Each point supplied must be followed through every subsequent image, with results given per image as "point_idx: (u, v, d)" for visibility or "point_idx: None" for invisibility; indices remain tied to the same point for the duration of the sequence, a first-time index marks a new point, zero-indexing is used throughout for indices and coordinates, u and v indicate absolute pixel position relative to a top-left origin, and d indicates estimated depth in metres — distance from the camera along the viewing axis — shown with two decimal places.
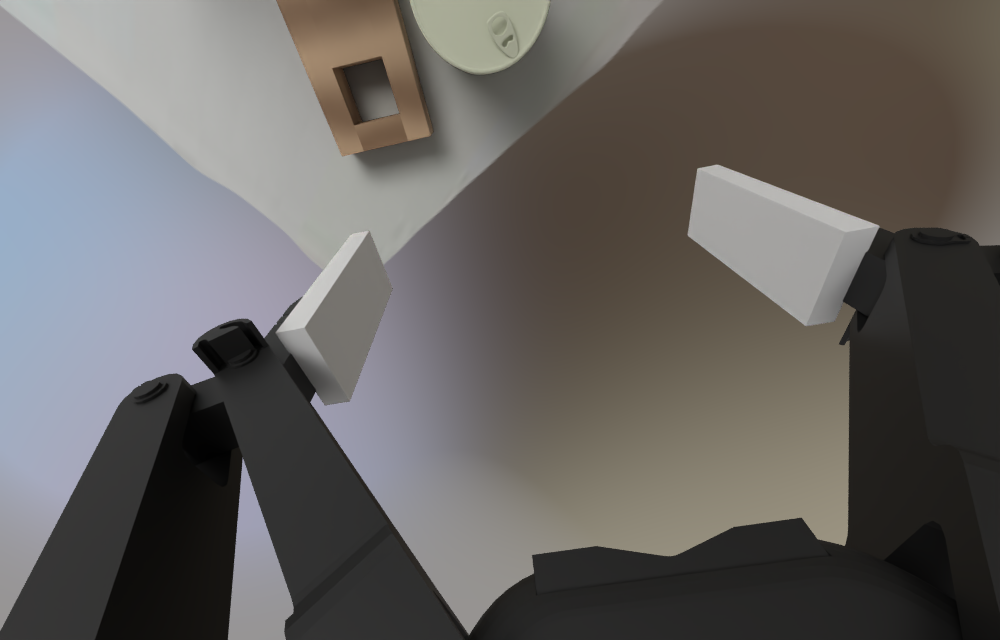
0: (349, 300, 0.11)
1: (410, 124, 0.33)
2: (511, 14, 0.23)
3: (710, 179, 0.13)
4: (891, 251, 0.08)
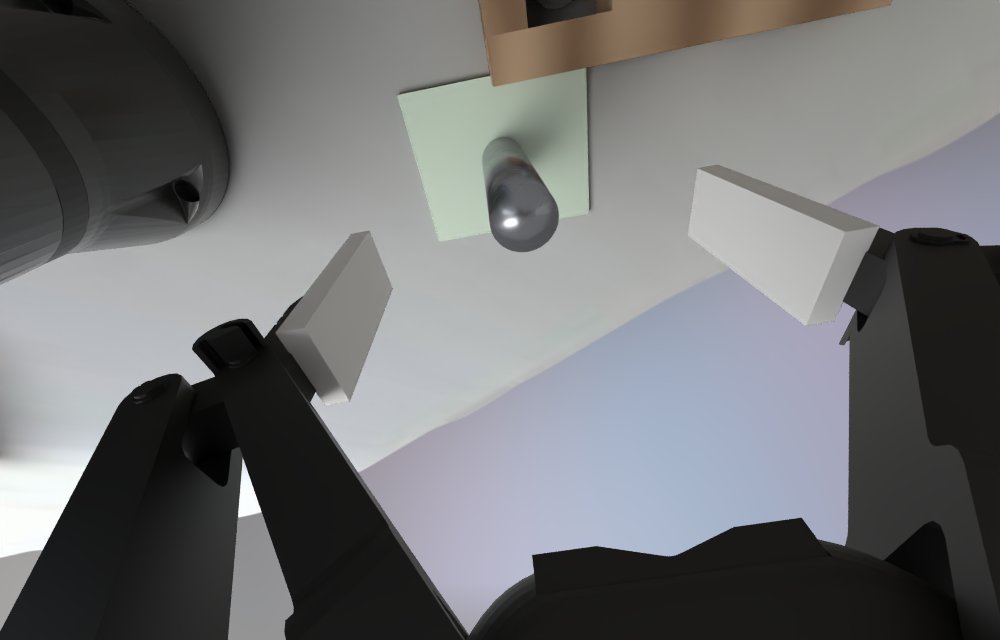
0: (349, 300, 0.11)
1: None
2: None
3: (710, 179, 0.13)
4: (891, 251, 0.08)
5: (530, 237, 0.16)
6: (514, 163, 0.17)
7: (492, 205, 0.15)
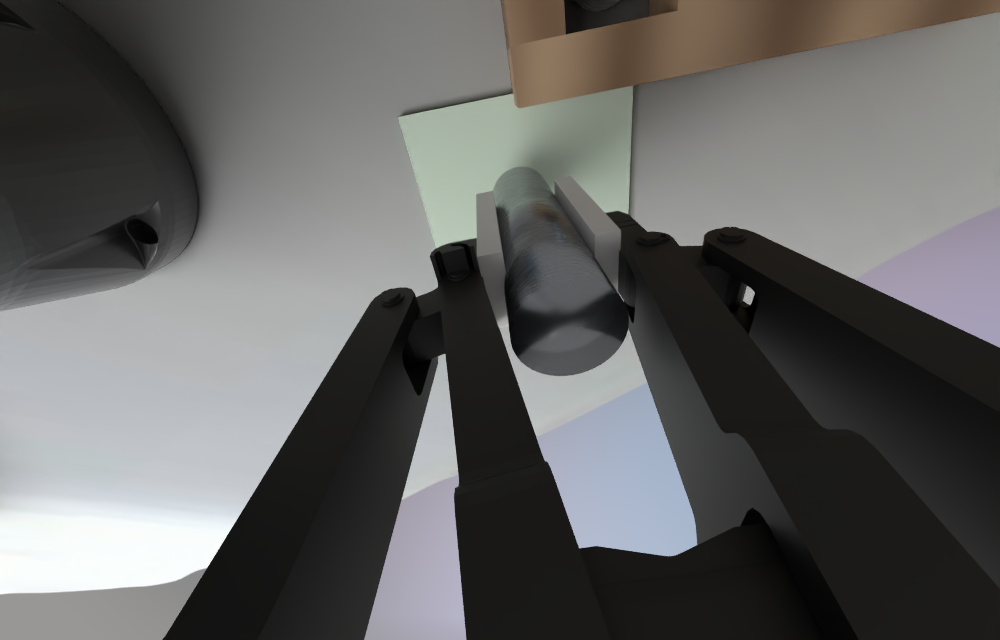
0: None
1: None
2: None
3: (558, 189, 0.15)
4: (630, 256, 0.09)
5: (577, 356, 0.09)
6: (546, 223, 0.11)
7: (516, 312, 0.09)
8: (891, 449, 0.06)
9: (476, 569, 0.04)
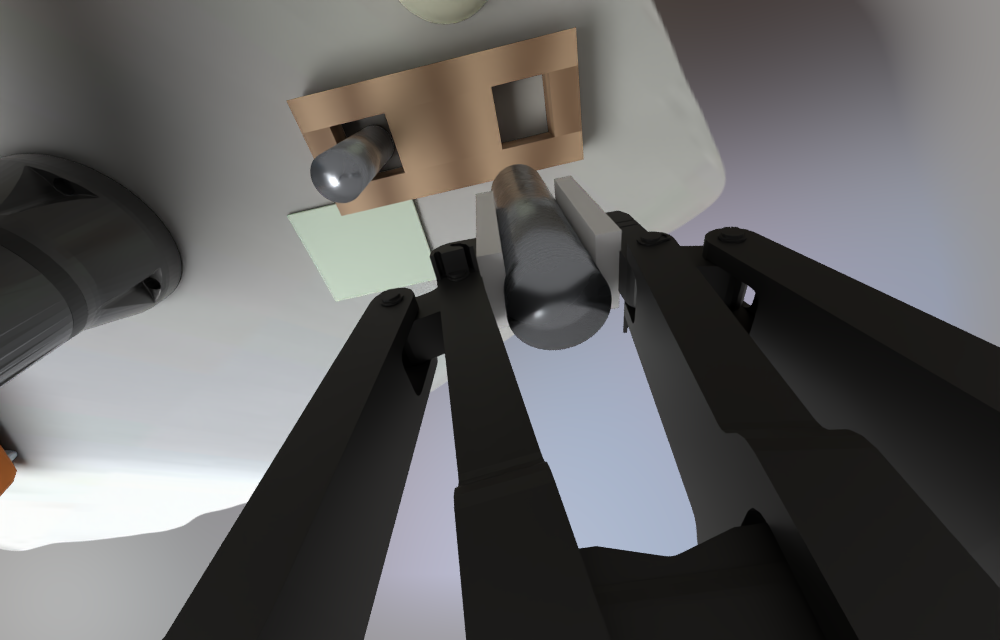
0: None
1: (560, 57, 0.26)
2: None
3: (558, 189, 0.15)
4: (630, 256, 0.09)
5: (566, 331, 0.10)
6: (539, 214, 0.12)
7: (511, 290, 0.10)
8: (892, 449, 0.06)
9: (475, 569, 0.04)
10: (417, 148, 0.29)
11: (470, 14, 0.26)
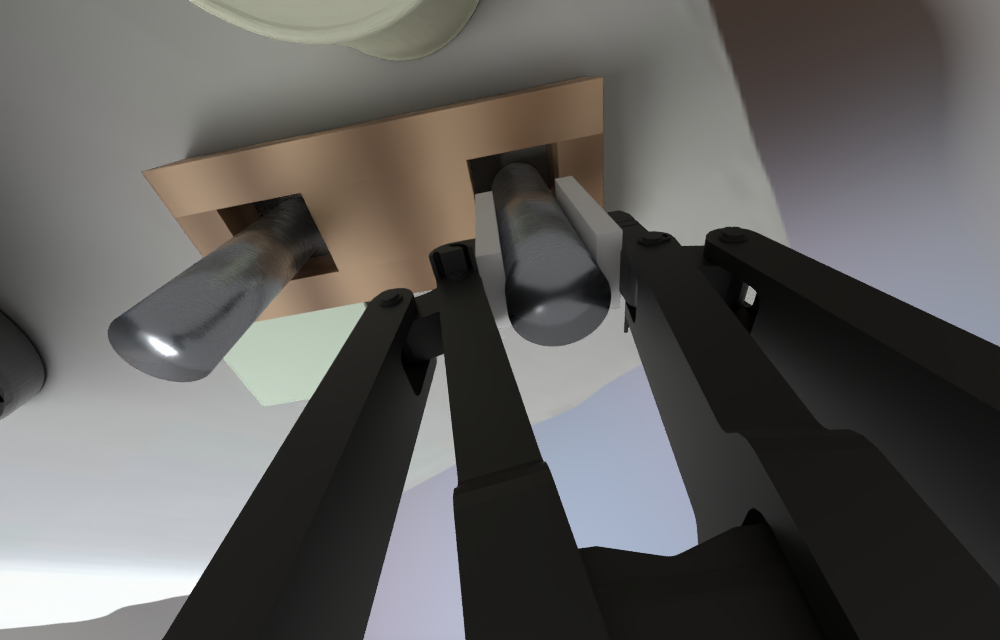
0: None
1: (575, 121, 0.17)
2: None
3: (559, 188, 0.15)
4: (631, 256, 0.09)
5: (566, 328, 0.11)
6: (540, 212, 0.12)
7: (512, 287, 0.10)
8: (893, 449, 0.06)
9: (475, 570, 0.03)
10: (355, 240, 0.19)
11: (436, 48, 0.17)
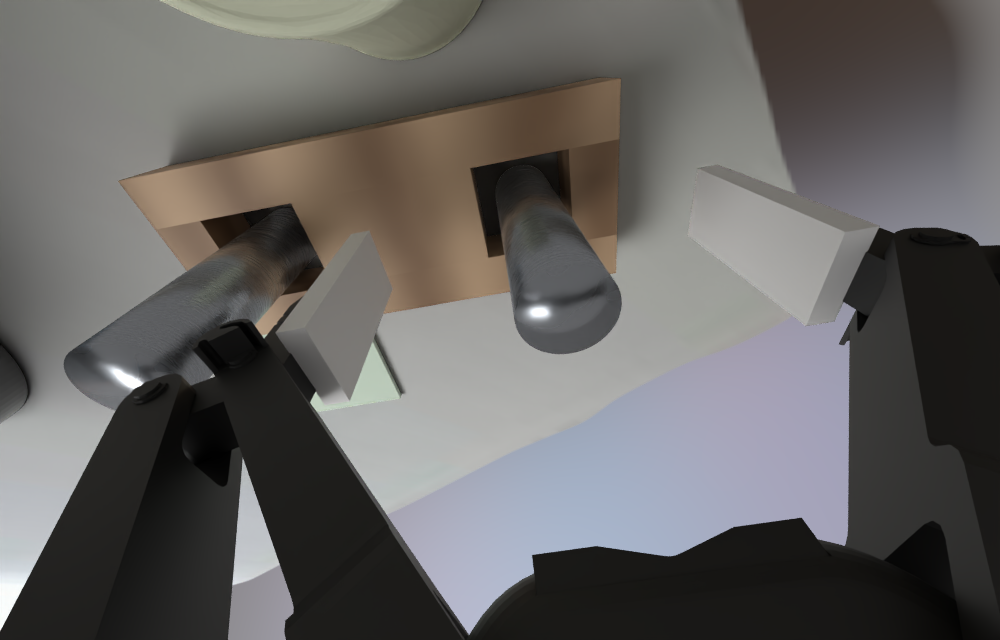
0: (349, 300, 0.11)
1: (589, 126, 0.15)
2: None
3: (710, 179, 0.13)
4: (891, 251, 0.08)
5: (575, 335, 0.10)
6: (547, 216, 0.12)
7: (520, 294, 0.10)
8: None
9: None
10: None
11: (438, 46, 0.15)
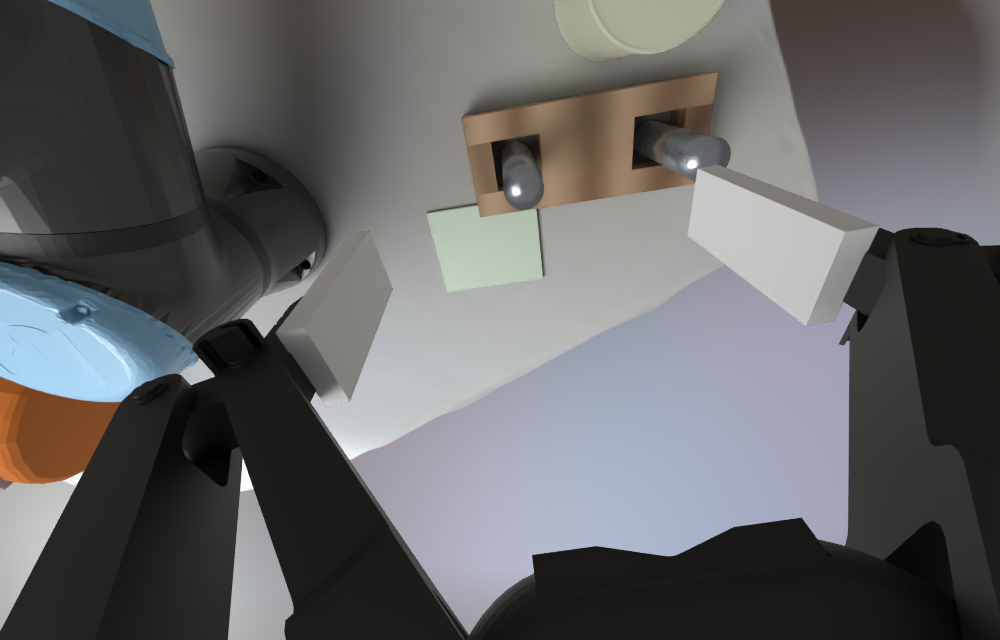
0: (349, 300, 0.11)
1: (699, 96, 0.30)
2: None
3: (710, 179, 0.13)
4: (891, 251, 0.08)
5: None
6: (689, 130, 0.27)
7: (691, 151, 0.25)
8: None
9: None
10: (559, 164, 0.33)
11: (623, 55, 0.31)
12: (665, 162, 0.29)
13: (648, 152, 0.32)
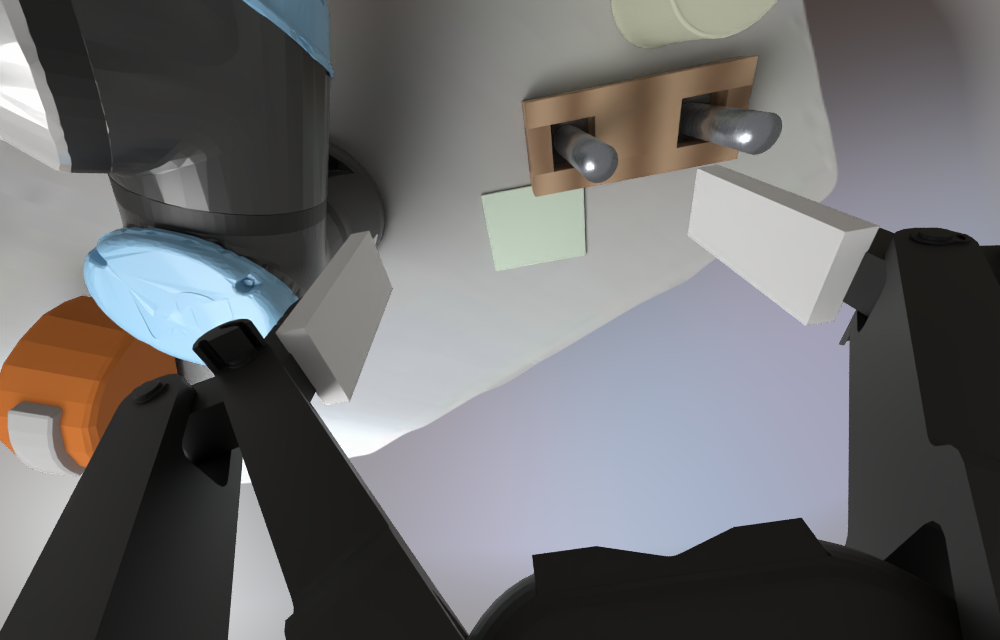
0: (349, 300, 0.11)
1: (740, 78, 0.34)
2: None
3: (710, 179, 0.13)
4: (891, 251, 0.08)
5: (761, 145, 0.29)
6: (739, 108, 0.31)
7: (748, 125, 0.28)
8: None
9: None
10: (611, 144, 0.36)
11: None
12: (715, 138, 0.32)
13: (694, 131, 0.35)
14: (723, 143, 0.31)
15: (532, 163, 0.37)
